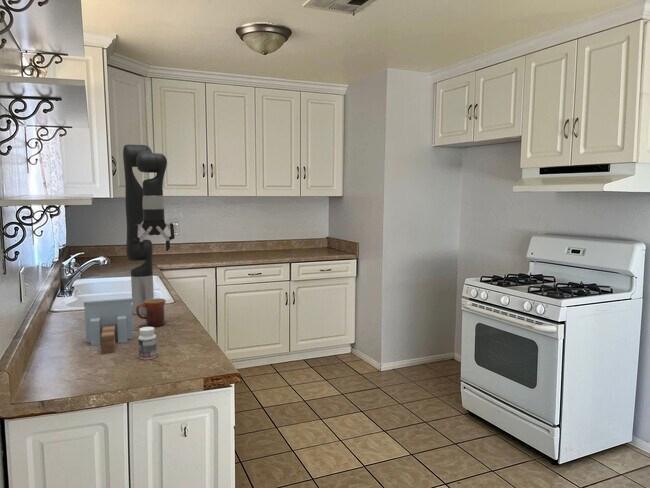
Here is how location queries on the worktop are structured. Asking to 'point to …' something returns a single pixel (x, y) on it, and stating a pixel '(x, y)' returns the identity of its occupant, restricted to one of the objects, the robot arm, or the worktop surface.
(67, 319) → the worktop surface
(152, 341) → the pill bottle
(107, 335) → the bed rail
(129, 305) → the grey two-legged bench
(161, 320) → the mug
